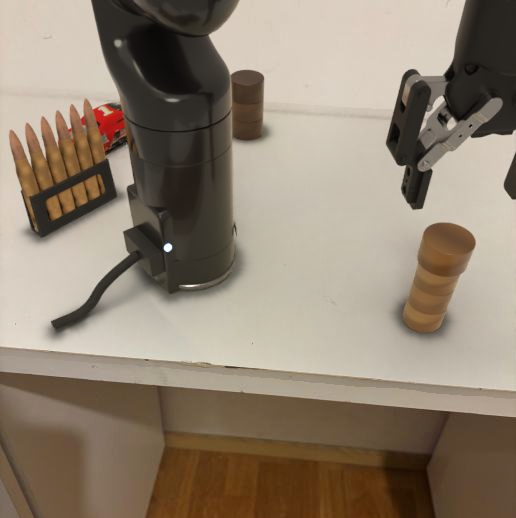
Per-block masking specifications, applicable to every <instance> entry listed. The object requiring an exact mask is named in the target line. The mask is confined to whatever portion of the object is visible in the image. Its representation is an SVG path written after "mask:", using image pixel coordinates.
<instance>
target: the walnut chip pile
mask: <svg viewBox="0 0 516 518" xmlns="http://www.w3.org/2000/svg"><path fill="white" fill-rule="evenodd" d="M230 76H231V82H232V137H233V138H235V139H237V140H243V141H253V140H256V139H258V138H260V137H261V136H262V135H263V133H264V107H265V106H264V104H265V75H264V74H263V73H262V72H259V71H257V70H253V69H239V70H236V71H234V72H232V73H230Z"/></svg>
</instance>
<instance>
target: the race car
mask: <svg viewBox="0 0 516 518" xmlns="http://www.w3.org/2000/svg"><path fill="white" fill-rule="evenodd" d="M92 109H93V111H94V114H95V118H96V122H97V125H98V129H99V132H100V134H101V137H102V142H103V147H104V151H105V153H106V152H108V151H109V150H112V149H113V148H115V147H117V146H119V145H120V144H122V143H124V142H127V136H126V130H125V124H124V118H123V112H122V108H121V102H120V101H112V102H107V103H104V104H101V105H99V106H97V107H95V108H92ZM80 119H81V122H82V126H83V129H84V132H85V136H86V126H85V120H84V115H83V116H81V117H80ZM68 131H69V134H70V137H71V140H72V143H73V134H72V128H71V127H70V128H68ZM57 146H58V149H59V151H60V146H59V140H58V139H57Z"/></svg>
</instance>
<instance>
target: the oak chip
mask: <svg viewBox="0 0 516 518" xmlns="http://www.w3.org/2000/svg"><path fill="white" fill-rule="evenodd" d="M420 239H421V240H420V243H419V246H418V250H417V254H416V261H417V264H418V263H419V264H420V266H421V267H422V268H423V269H424V270H426V271H427V272H429V273H431V274H434V275H437V276H441V277H454V276H458V275H460V276H461V275H462V274H463V273H464V272H466V270H467V269H468V266H469V263H470V261H471V258H472V256H473V253H474V251H475V248H476V245H477V244H476V243H477V241H476V238H475V236H474V235H473V233H472V232H471V231H470V230H468V229H467V228H465V227H464V226H461V225H459V224H456V223H453V222H443V221H442V222H435V223H432V224H429V225H428V226H427V227H426V228H425V229H424V231H423V233H422V235H421V238H420Z"/></svg>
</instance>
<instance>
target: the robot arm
mask: <svg viewBox="0 0 516 518" xmlns="http://www.w3.org/2000/svg"><path fill="white" fill-rule="evenodd" d="M240 1H241V0H90V3H91V7H92V13H93V16H94V21H95V25H96V30H97V35H98V39H99V42H100V43H99V45H100V48H101V53H102V57H103V61H104V63H105V66H106V69H107V71H108V74H109V75H110V78H111V80H112V82H113V83H114V86H115V88H116V91H117V93H118V97H119V102H121V108H122V112H123V118H124V124H125V130H126V136H127V140H126V142H127V148H128V154H129V161H130V165H131V166H130V167H131V174H132V179H133V182H132V183H131V184H128V185H127V186H126V193H127V199H128V204H129V210H130V216H131V222H132V227H130V228H128V229H125V230H123V231H122V234H123V238H124V244H125V249H126V250H125V251H126V252H127V253H128V255H127V256H126V257H125V258H123V259H122V260H121V261H120V262H119V263H117V264H116V265H115V266H114V267H112V268H111V269H110V270H109V271H108V272H107V273H106V274H105V275H104V276H103V277H102V278H101V279H100V280H99V282H98V283H97V284H96V285H95V287H94V289H92V291H91V294H90V295H89V296H88V298H87V299H86V301H85V302H84V303H83V304H81V306H80V307H78V308H77V309H75V310H74V311H72V312H70V313H67V314H64V315H62V316H59V317H57V318H55V319H52V320H50V323H51V326H52V328H53V329H54V331H58V330H59V329H62V328H63V327H67V326H69V325H71V324H74V323H76V322H78V321H80V320H82V319H83V318H85V317H86V316H87V315H89V314H90V313H91V312H92V311H93V310H94V309H95V307H96V306H97V305H98V303H99V301H100V300H101V298H102V296H103V295H104V293H105V292H106V291H107V289H108V288H109V287H110V286H111V285H112V284H113V283H114V282H115V281H116V280H118V279H119V277H121V276H122V275H123V274H124V273H125V272H127V271H128V270H129V269H130V268H132V267H133V266H134V265H135V264H136V263H138V264H139V265H140V267H142V268H143V270H144V271H145V272H146V273H147V274H148V276H150V277H151V278H152V279H153V280H154V281H156V282H157V283H158V284H159V286H161V287H162V288H163V290H165V291H166V292H167V294H169V295H171V294H174V293H177V292H180V291H184V292H185V291H187V292H189V291H190V292H191V291H193V292H194V291H200V290H205V289H209V288H211V287H214V286H217V285H218V284H220V283H222V282H223V281H224V280H226V279H227V278H228V277H229V276H230V275H231V274H232V272H233V271H234V268H235V265H236V250H235V236H236V238H237V237H238V233H237V232H238V231H237V224H236V222H235V212H234V208H235V207H234V206H235V205H234V158H233V157H234V156H233V155H234V153H233V152H234V150H233V147H234V146H233V135H232V82H231V72H230V70H229V67H228V65H227V63H226V62H225V60H224V59H223V57H222V56H221V54H220V53H219V51H218V50H217V47H216V46H215V45H214V42H213V41H212V38H211V37H210V35H211V34H213V33H214V32H217V31H218V30H219V29H221V28H222V27H223V26H224V25H225V24H226V23H227V22H228V21H229V19H230V18H231V16H232V15H233V13H234V12H235V10H236V9H237V8H238V5H239V3H240ZM440 97H442V98H443V101H442V103H440V104H439V106H438V107H437V108H436V109H435V110H434V111H433V112H432V113H431V114H430V115H429V116H428V118H427V119H426V122H425V123H426V124H425V126H424V127H423V128H422V126H423V123H424V119H425V116H426V113H429V112H431V111H432V110H433V108H434V104H435V102H436V101H437V99H438V98H440ZM395 100H396V101H395V104H394V107H393V112H392V116H391V120H390V125H389V128H388V132H387V136H386V139H385V146H386V148H387V149H388V151H389V153H390V155H391V156H392V158H393V160H394V161H395V163H396V165H397V166H399V167H404V166H405V168H404V172H403V178H402V180H401V186H400V191H401V194H402V197H403V198H404V200H405V202H406V203H407V204H408V205H409V207H410V208H411V210H413V211H415V210H416V211H418V210H422V209H424V206H425V202H426V200H427V199H426V198H427V195H428V191H429V187H430V184H431V179H432V177H433V173H434V170H433V169H432V167H434V165H436V164H437V163H438V162H439V161H440V160H441V159H442V158H443V157H444V156H445V155H446V154H447V153H449V152H455V151H456V150H457V149H458V148H459V147H460V146H462V145H463V144H464V142H465V141H466V140H467V139H468V138H469V137H471V139H478V138H479V139H481V138H484V137H487V136H491V135H498V136H511V135H513V134H514V131H516V0H465V1H464V4H463V9H462V13H461V16H460V20H459V23H458V28H457V32H456V36H455V42H454V51H453V59H452V61H451V62H450V64H449V66H448V68H447V69H446V70H445V72H444V73H443V75H421V74H420V73H419V71H418V70H417V69H416V68H410V69H408V70H406V71H405V72H404V73H403V75H402V77H401V80H400V85H399V89H398V92H397V96H396V99H395ZM451 119H453V121H454V122H455V125H453V127H452V128H451V129H449V128H448V123H449V121H450V120H451ZM503 189H504V191H505V192H506V193H507V194H508V196H509V198H510V199H511V200H513V201H514V200H515V201H516V151H515V153H514V155H513V158H512V160H511V163H510V166H509V168H508V171H507V173H506V176H505V179H504V181H503Z"/></svg>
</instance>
